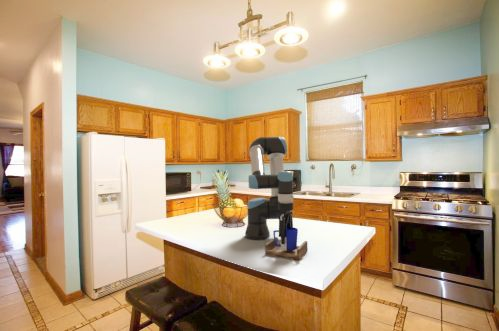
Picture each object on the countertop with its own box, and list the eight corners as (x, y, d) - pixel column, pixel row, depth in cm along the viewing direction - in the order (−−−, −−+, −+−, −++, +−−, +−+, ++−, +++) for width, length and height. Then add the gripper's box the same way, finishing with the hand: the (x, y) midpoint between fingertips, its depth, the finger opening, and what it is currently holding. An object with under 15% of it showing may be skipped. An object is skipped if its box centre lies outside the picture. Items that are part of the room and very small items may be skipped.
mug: (272, 246, 128) (272, 227, 129) (296, 246, 128) (295, 227, 129) (274, 251, 120) (274, 230, 120) (299, 251, 120) (299, 230, 121)
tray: (265, 254, 123) (265, 244, 123) (275, 246, 135) (275, 237, 135) (299, 260, 115) (299, 249, 115) (307, 251, 127) (307, 241, 127)
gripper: (285, 205, 114) (286, 255, 115) (298, 199, 132) (299, 243, 132) (270, 204, 118) (271, 253, 118) (285, 199, 135) (286, 241, 136)
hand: (286, 247), depth 125 cm, fingers closed on mug, 7 cm apart
